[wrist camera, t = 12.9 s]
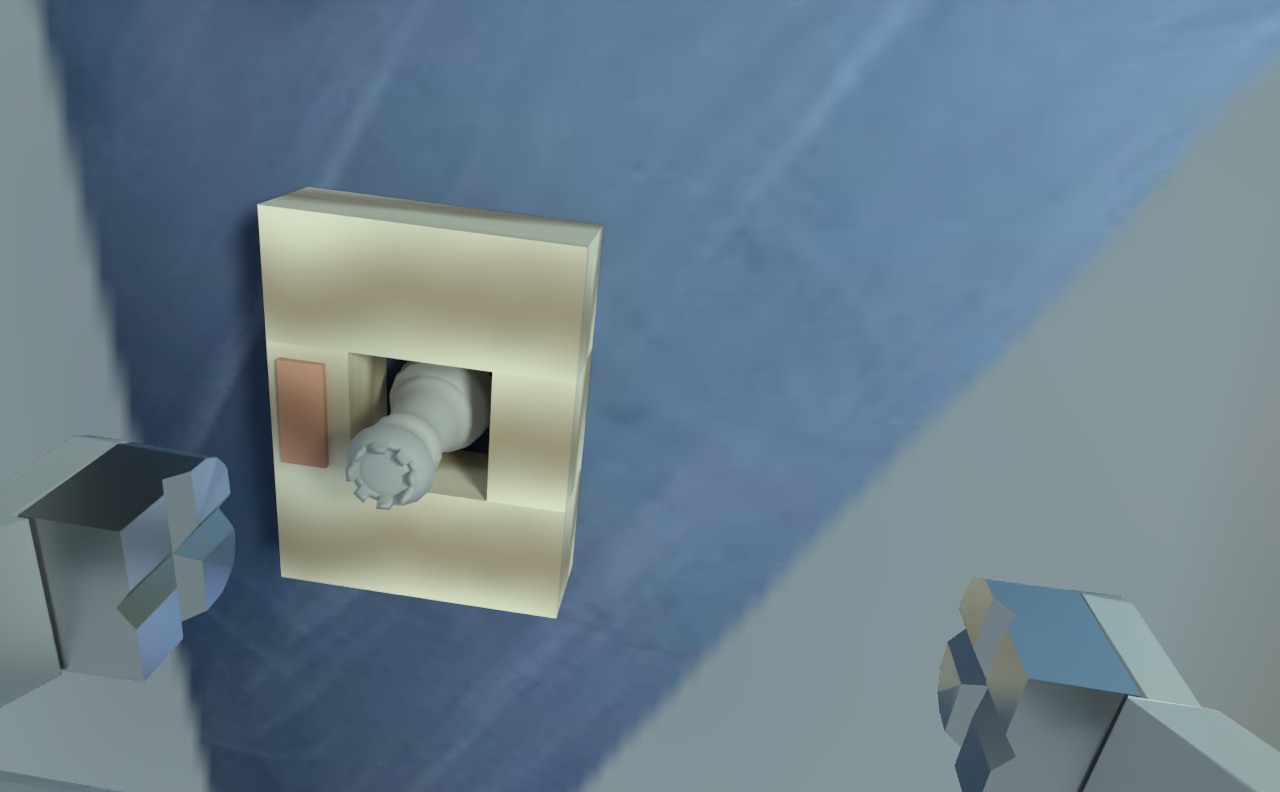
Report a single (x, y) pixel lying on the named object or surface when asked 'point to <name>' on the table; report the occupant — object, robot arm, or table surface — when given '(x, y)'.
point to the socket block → (437, 334)
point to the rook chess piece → (418, 431)
